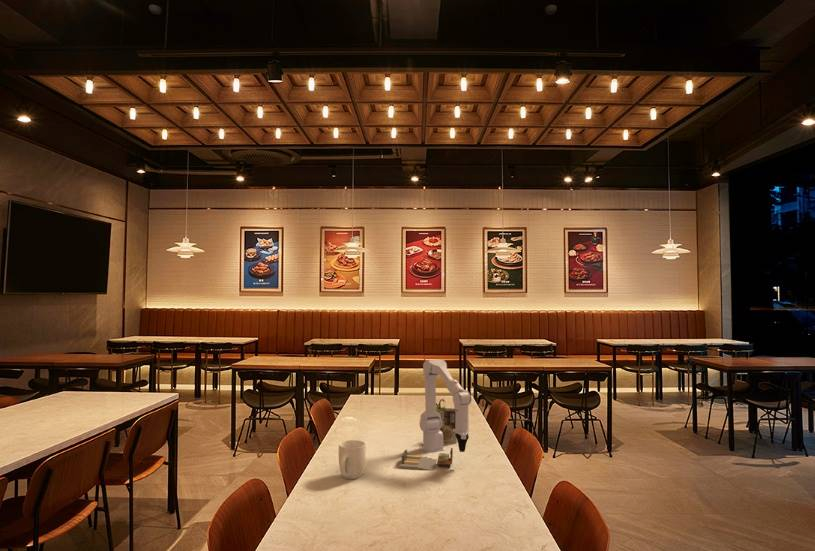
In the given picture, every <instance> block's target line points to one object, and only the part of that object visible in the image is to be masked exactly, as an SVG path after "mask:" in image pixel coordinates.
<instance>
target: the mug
mask: <svg viewBox="0 0 815 551" xmlns="http://www.w3.org/2000/svg"><path fill="white" fill-rule="evenodd" d="M366 451H367V450H366V442H365V441H364V440H359V439H348V440H343V441H341V442H340V443H338V464H339V465H338V466H339V470H340V475H341V476H343V478H344V479H346V480H356V479H358V478H360V477H361V475H362V473H363V471H364V467H365V465H366Z"/></svg>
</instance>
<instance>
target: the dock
mask: <svg viewBox="0 0 815 551" xmlns="http://www.w3.org/2000/svg"><path fill="white" fill-rule="evenodd" d="M437 460H438V458H432V457H428V456H422V455H411V454H408V449H404V452H403V453H402V455H401V461H400V463H399V465H398V468H399V469H404V470H406V469H407V470H418V471H419V470H420V471H431V472H432V471H435V468H436V465H437Z"/></svg>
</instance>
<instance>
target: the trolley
mask: <svg viewBox="0 0 815 551" xmlns="http://www.w3.org/2000/svg"><path fill="white" fill-rule="evenodd" d="M453 450H454V449H453V448H450V452H449V453H445V452H443V453H442V452H439V453H438V456H437V461H436V465H437V466H438V467H439V468H440V467H442V465H446V467H447V468H451V466H452V465H453V461H454V460H453V458H454V456H453V455H454V453H453Z"/></svg>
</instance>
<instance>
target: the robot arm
mask: <svg viewBox="0 0 815 551" xmlns="http://www.w3.org/2000/svg"><path fill="white" fill-rule="evenodd" d="M447 364H448V363H447V362H446V361H445V359H443V358H441V359H440V358H439V359H426V360H425V361H424V362H423V364H422V366H423V367H422V372H423V374H422V375H423V376H424V394H425V395H424V399H425V400H424V402H425V403H424V404H425V410H424V411H423V412H422V413H421V414H420V419H419V427H420V430H421V431H422V434H423V435H422V446H420V447H419V448H420V449H421V450H422V451H423V452H425V453H426V454H427V453H436V452H444V451H445V449H444V442H443V433H442V431H441V430H439V429H440V428H441V426H442V421H441V417H440V414H439V413H438V412H437V411H436V407H437V406H436V403H437V393H436V392H437V391H436V390H437V389H436V387H437V385H436V378H438V376H440V377H441V379H442V380H443V381H444V382H445V384H446V389H447V390H448V391H449V393H450V395H451V396H452V402H453V405H454V406H453V407H454V408H453V409H456V415H455V429H453V432H456V433H458V434H455V435H456V438H457V440H458V442H457V444H458V445H457V446H458V450H459V452H460V453H464V452H465V451H466V447H467V442H468V440H469V437H470V436H469V433H470V430H469V429H470V428H469V407H470V406H469V405H470V404H471V403H472V395H471V393H470V391H468V390H466V389H464V388H463V387H462V386H461V384H460V383H459V381H458V380H457V379H453V376H452V375H451V373H450V372H449V370H448V365H447Z"/></svg>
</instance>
